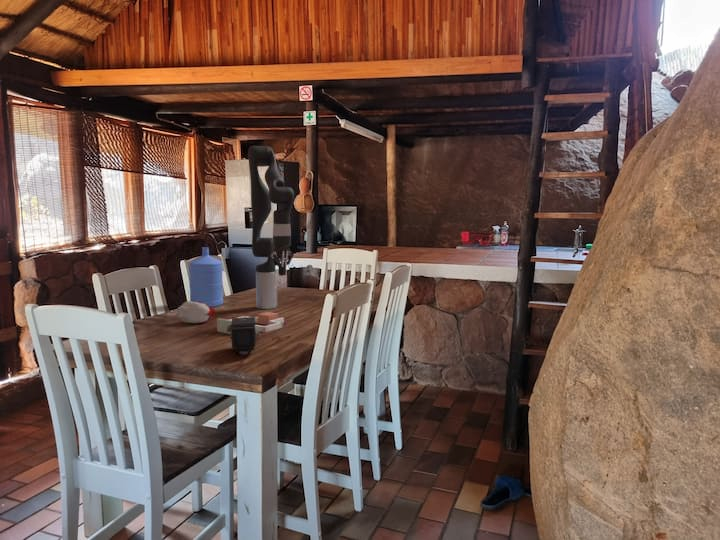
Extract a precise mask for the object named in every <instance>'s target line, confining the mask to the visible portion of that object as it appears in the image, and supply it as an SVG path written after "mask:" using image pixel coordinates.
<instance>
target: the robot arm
mask: <svg viewBox="0 0 720 540" xmlns="http://www.w3.org/2000/svg"><path fill="white" fill-rule="evenodd" d="M247 156H248V157H247V159H248V167H249V168H248V169H249V177H250V205H251V207H250V208H251V217H252V218H251V220H252V223H251V224H252V225H251V226H252V229H251V231H252V232H251V234H252V235H251V238H252V239H251V250H252V254H253V256H254V257H255V258H267V260H266V261H265V262H263V263H260V264H258V265H256V266H255V290H256V291H255V297H256V299H255V301H256V303H255V304H256V309H261V310H268V309H275V308H276V307H278V287H277V286H276V285H277V283H276V282H277V281H276V271H277V270H276V267H277V268H278V275H279V276H286V275H287V266H289V265H290V263H291V262H292V260H293V257H294V255H295V253H294V252H292V251H291V248H290V246H291V245H292V242H291V241H292V229H291V228H292V227H291V211H292V207H293V203H294V200H295V192H294V190H293V188H292V187H289V186H285V181H284V179H283V177H282V175H281V173H280V171H279V168H278V164H277V160H276V156H275V152H274V150H273V148H272V147H271V146H268V145H250V146H249V147H248V152H247ZM259 167H261V168H262V167H267V169H266V171H265V173H264V180H265V183H266V184H265V183H264V182H263V180H262V179H261V176H260V174H259V170H258V168H259ZM266 185H267V186H266ZM272 204H274V205H278V204H279V205H283V207H282V208H279V209H274V211H273V214H272V215H273V216H272V218H273V219H272V220H273V224H272V225H273V226H272V237H261V232H262V228H263V226H264V224H265V223H266V221H267V219H268V218H269V216H270V214H271V211H272Z"/></svg>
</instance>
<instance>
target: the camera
mask: <svg viewBox="0 0 720 540" xmlns="http://www.w3.org/2000/svg"><path fill="white" fill-rule="evenodd" d="M231 319H232V323H231V324H229V325H228V324H227V332H230V334H229V336H230V340H231V348H232V351H233V352H238V353H239V355H247V354H249V351H254V350H255V347H256V342H257V340H259V339H260V335H261V334H260V331H256V329H255V325H256V323H255V317H254V316H248V317H247V318H238V317H235V318H234V317H232V318H231Z"/></svg>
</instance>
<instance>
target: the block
mask: <svg viewBox="0 0 720 540" xmlns="http://www.w3.org/2000/svg"><path fill="white" fill-rule="evenodd" d="M257 317H258V322H257V324H259V325H260V324H261V325H264V326H267V325H268V321H270V320H274V319H278V318H279V313H277V312H271V311H264V312H262V313H258V314H257Z"/></svg>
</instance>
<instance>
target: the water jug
mask: <svg viewBox="0 0 720 540" xmlns="http://www.w3.org/2000/svg"><path fill="white" fill-rule="evenodd" d="M201 249H202V251H201V253H202V254H201V256H199V257H198V258H195V259H194V260H191V261H190V262H189V265H188V270H189V271H188V272H189V297H190V298H189V301H192V302H202V303H204V304H207V305H208V306H209V308H213V307H219V306H222V305H223V304H224V297H223V296H224V290H223V287H224V286H223V269H224V267H223V262H222V261H221V260H220V259H216V258H215V257H212V256H211V255H210V249H209V246H205V247H201Z"/></svg>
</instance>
